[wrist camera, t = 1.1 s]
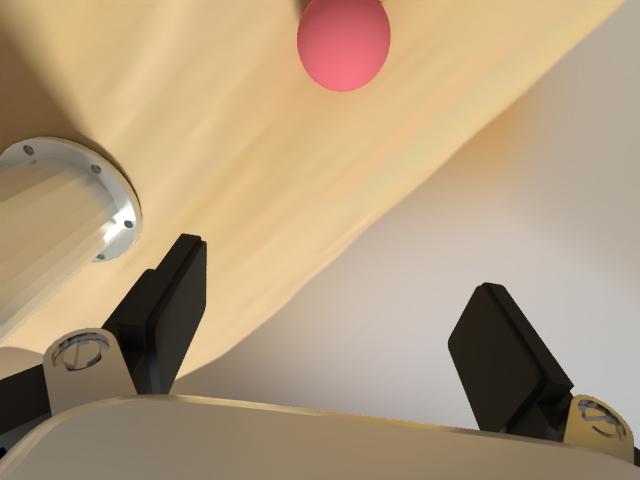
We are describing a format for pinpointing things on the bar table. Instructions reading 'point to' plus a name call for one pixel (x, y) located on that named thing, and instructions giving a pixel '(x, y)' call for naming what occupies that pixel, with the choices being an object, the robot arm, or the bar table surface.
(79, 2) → the bar table surface
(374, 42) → the ball
